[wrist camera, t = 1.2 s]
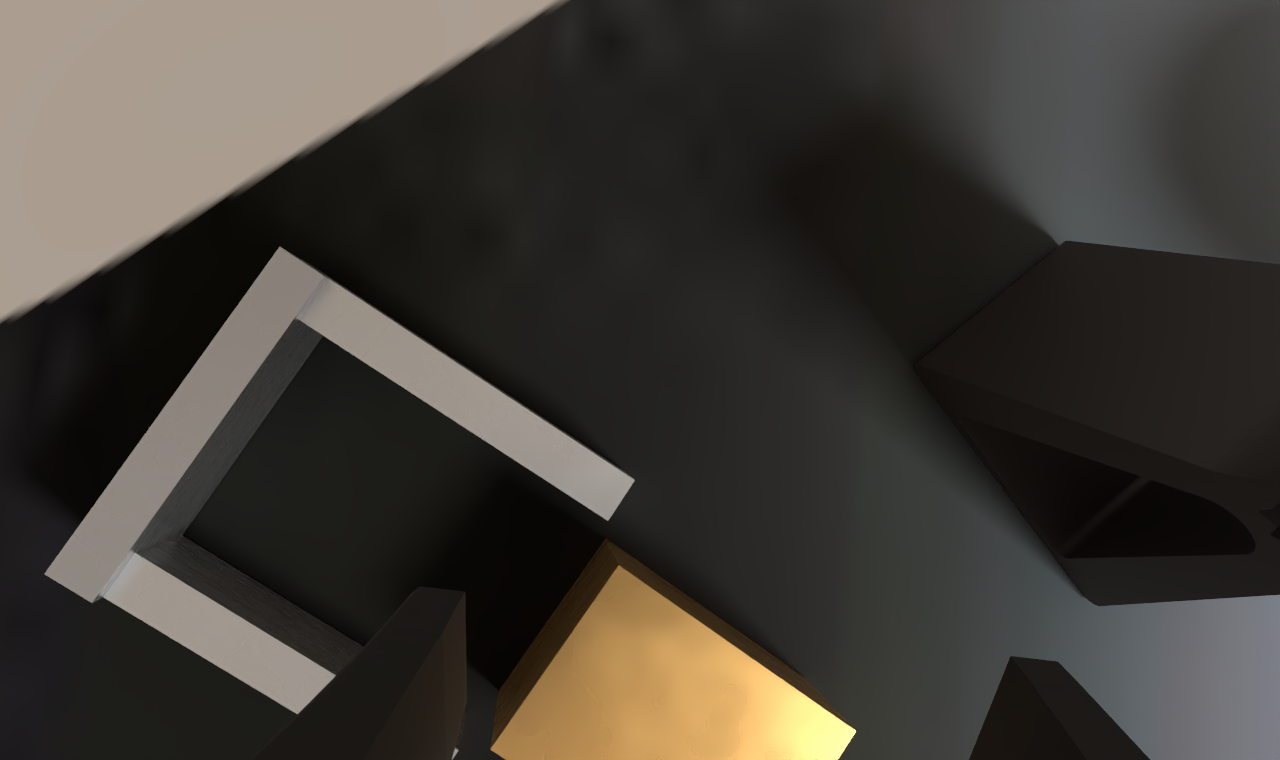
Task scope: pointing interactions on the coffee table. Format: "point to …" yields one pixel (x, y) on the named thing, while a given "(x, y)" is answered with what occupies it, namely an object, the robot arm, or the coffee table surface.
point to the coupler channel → (218, 432)
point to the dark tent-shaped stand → (1131, 417)
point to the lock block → (655, 682)
